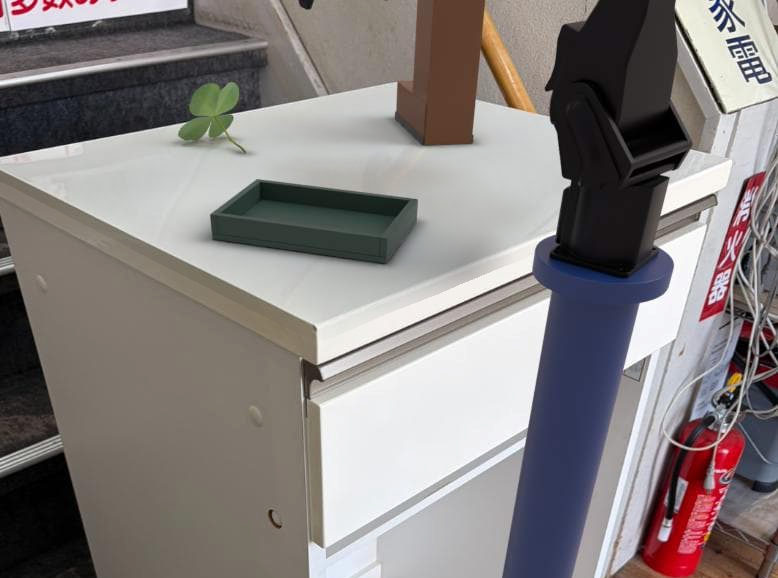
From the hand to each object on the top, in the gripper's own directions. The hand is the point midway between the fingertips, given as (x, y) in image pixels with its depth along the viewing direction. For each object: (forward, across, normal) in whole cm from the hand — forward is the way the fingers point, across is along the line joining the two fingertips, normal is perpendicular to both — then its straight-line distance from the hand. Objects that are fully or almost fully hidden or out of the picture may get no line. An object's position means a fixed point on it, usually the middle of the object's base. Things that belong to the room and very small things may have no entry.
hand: (345, 3), depth 71 cm
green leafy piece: (+17, +3, -14) cm, 23 cm away
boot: (+15, -20, -4) cm, 25 cm away
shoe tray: (+13, +11, +11) cm, 20 cm away
